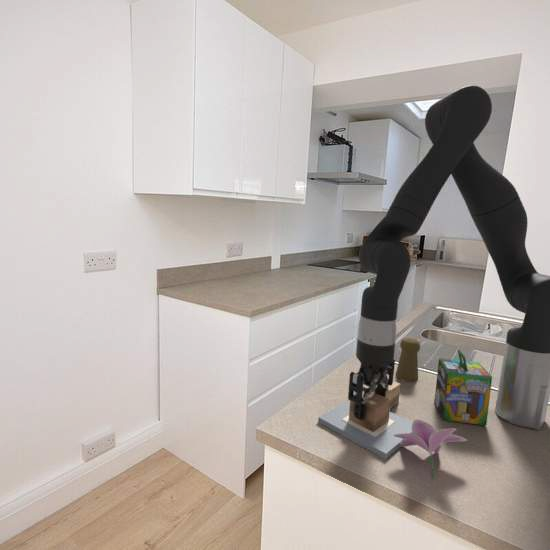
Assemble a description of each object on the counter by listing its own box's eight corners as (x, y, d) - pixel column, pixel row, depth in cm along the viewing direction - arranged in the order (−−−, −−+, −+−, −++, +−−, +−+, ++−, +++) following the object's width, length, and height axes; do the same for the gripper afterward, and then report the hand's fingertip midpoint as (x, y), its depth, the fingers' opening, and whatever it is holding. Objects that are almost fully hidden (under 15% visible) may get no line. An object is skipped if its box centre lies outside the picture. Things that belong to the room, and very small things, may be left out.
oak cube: (398, 403, 89) (400, 383, 88) (388, 410, 85) (390, 390, 85) (379, 395, 92) (381, 376, 91) (369, 401, 89) (371, 382, 88)
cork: (395, 379, 101) (399, 341, 100) (395, 370, 107) (399, 334, 105) (419, 383, 100) (423, 344, 98) (417, 374, 105) (421, 337, 104)
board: (419, 430, 78) (419, 424, 77) (385, 459, 68) (386, 452, 68) (354, 400, 89) (355, 395, 89) (318, 422, 79) (318, 416, 79)
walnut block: (388, 421, 78) (390, 399, 77) (373, 432, 74) (375, 409, 73) (364, 409, 82) (366, 389, 81) (348, 419, 78) (350, 397, 77)
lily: (474, 475, 66) (465, 418, 70) (465, 486, 57) (454, 420, 60) (407, 469, 73) (401, 417, 76) (388, 478, 63) (382, 418, 67)
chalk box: (486, 427, 80) (496, 363, 77) (441, 421, 82) (450, 358, 79) (473, 405, 89) (481, 347, 86) (432, 400, 91) (440, 343, 88)
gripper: (374, 351, 67) (366, 433, 70) (410, 335, 77) (402, 407, 80) (340, 340, 73) (334, 416, 75) (378, 326, 83) (371, 394, 85)
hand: (369, 411), depth 78 cm, fingers open, 7 cm apart
